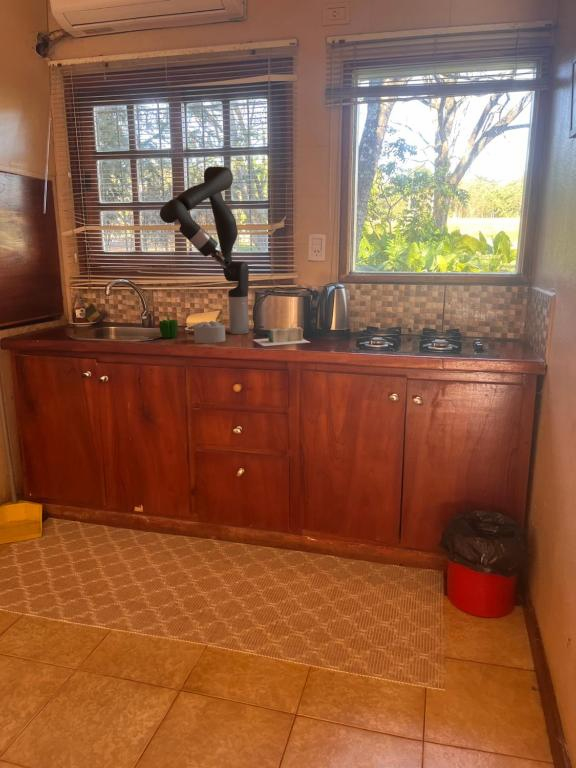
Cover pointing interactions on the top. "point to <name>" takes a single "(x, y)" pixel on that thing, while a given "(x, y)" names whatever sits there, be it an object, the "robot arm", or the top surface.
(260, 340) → the grey mat
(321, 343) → the top surface
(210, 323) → the lumpy-topped squat cylinder
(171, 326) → the bell pepper
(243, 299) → the robot arm
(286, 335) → the maple block
